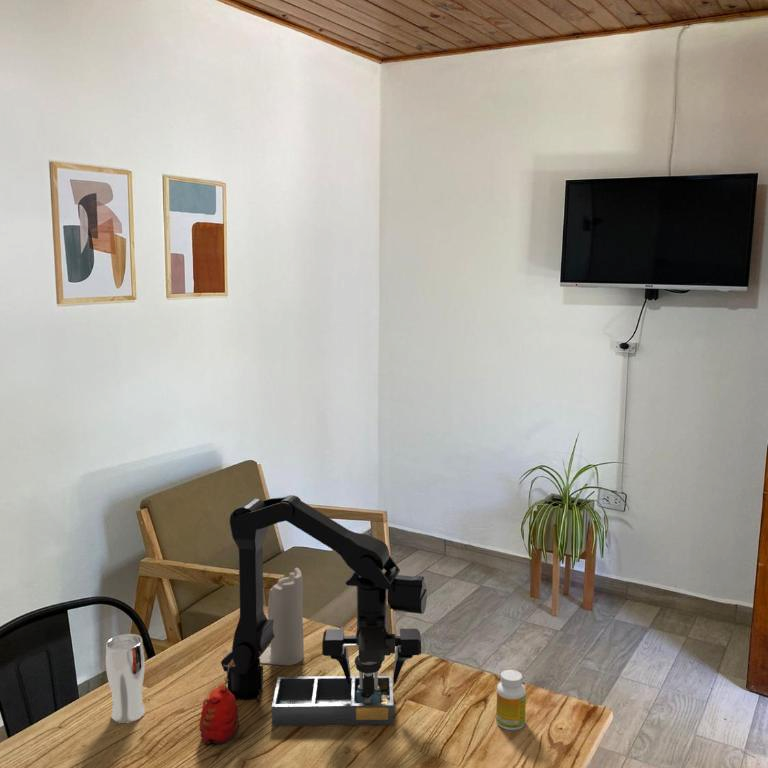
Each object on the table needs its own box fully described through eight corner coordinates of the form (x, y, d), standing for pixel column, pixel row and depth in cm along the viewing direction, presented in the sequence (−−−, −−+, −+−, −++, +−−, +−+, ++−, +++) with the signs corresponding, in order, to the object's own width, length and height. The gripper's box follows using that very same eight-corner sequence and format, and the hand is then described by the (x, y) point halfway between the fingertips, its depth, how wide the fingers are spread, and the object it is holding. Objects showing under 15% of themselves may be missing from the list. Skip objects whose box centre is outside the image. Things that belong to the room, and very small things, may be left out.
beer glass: (154, 709, 152) (151, 637, 150) (129, 729, 146) (125, 654, 144) (127, 701, 155) (123, 630, 153) (101, 720, 149) (96, 646, 147)
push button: (390, 696, 155) (390, 649, 153) (387, 712, 149) (387, 663, 148) (357, 694, 155) (357, 647, 154) (353, 709, 150) (352, 661, 149)
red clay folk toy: (206, 723, 148) (204, 649, 146) (243, 724, 148) (241, 649, 145) (196, 748, 140) (192, 670, 138) (235, 748, 140) (232, 671, 138)
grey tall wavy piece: (247, 646, 177) (244, 562, 174) (307, 650, 175) (305, 565, 172) (237, 662, 170) (234, 575, 167) (299, 666, 168) (297, 578, 165)
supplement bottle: (524, 732, 145) (526, 684, 143) (495, 729, 146) (496, 681, 144) (525, 716, 150) (526, 669, 149) (496, 713, 151) (497, 666, 150)
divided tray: (271, 727, 147) (271, 707, 146) (278, 695, 157) (278, 676, 157) (393, 725, 147) (393, 706, 146) (391, 694, 158) (392, 675, 157)
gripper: (319, 627, 141) (320, 707, 143) (423, 626, 141) (422, 706, 144) (323, 600, 152) (324, 675, 155) (419, 599, 152) (419, 674, 155)
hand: (371, 683), depth 152 cm, fingers open, 8 cm apart
